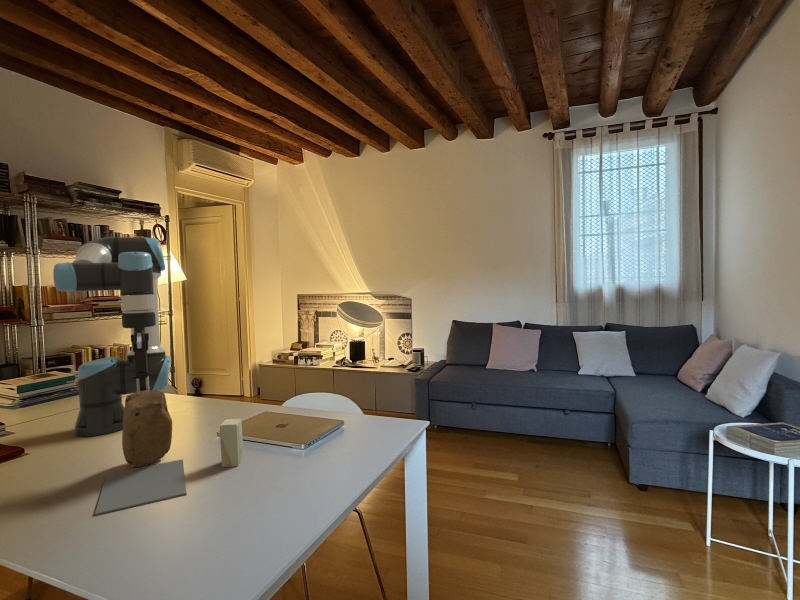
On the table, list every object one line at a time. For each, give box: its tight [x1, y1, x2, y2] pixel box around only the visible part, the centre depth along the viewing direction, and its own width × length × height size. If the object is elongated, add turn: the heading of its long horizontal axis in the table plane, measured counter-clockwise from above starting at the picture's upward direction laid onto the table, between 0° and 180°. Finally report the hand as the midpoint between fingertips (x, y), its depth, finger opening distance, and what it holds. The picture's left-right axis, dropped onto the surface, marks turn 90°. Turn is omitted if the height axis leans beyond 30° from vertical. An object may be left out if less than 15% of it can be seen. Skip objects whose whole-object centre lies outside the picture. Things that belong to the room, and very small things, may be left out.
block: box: [121, 390, 173, 468], centre depth 114 cm, size 11×8×20 cm
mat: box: [94, 459, 188, 517], centre depth 104 cm, size 22×17×1 cm
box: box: [219, 418, 244, 468], centre depth 115 cm, size 5×4×11 cm
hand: (143, 401), depth 115 cm, fingers closed
